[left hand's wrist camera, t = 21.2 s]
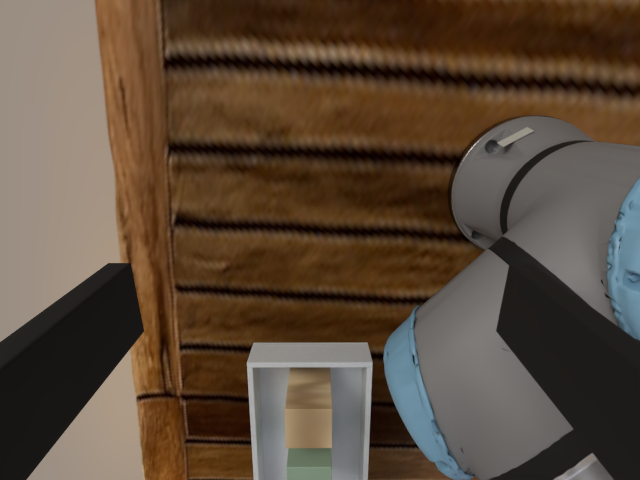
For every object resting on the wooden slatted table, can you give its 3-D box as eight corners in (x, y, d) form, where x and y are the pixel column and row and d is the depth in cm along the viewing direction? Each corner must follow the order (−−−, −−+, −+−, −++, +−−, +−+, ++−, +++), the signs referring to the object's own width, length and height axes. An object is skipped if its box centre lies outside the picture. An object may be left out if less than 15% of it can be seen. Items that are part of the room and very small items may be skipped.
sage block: (329, 409, 43) (331, 467, 35) (329, 440, 44) (331, 502, 37) (292, 409, 43) (286, 467, 35) (292, 440, 44) (287, 503, 37)
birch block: (329, 360, 41) (332, 409, 34) (329, 393, 43) (332, 448, 35) (290, 360, 41) (284, 409, 34) (291, 393, 43) (285, 448, 35)
